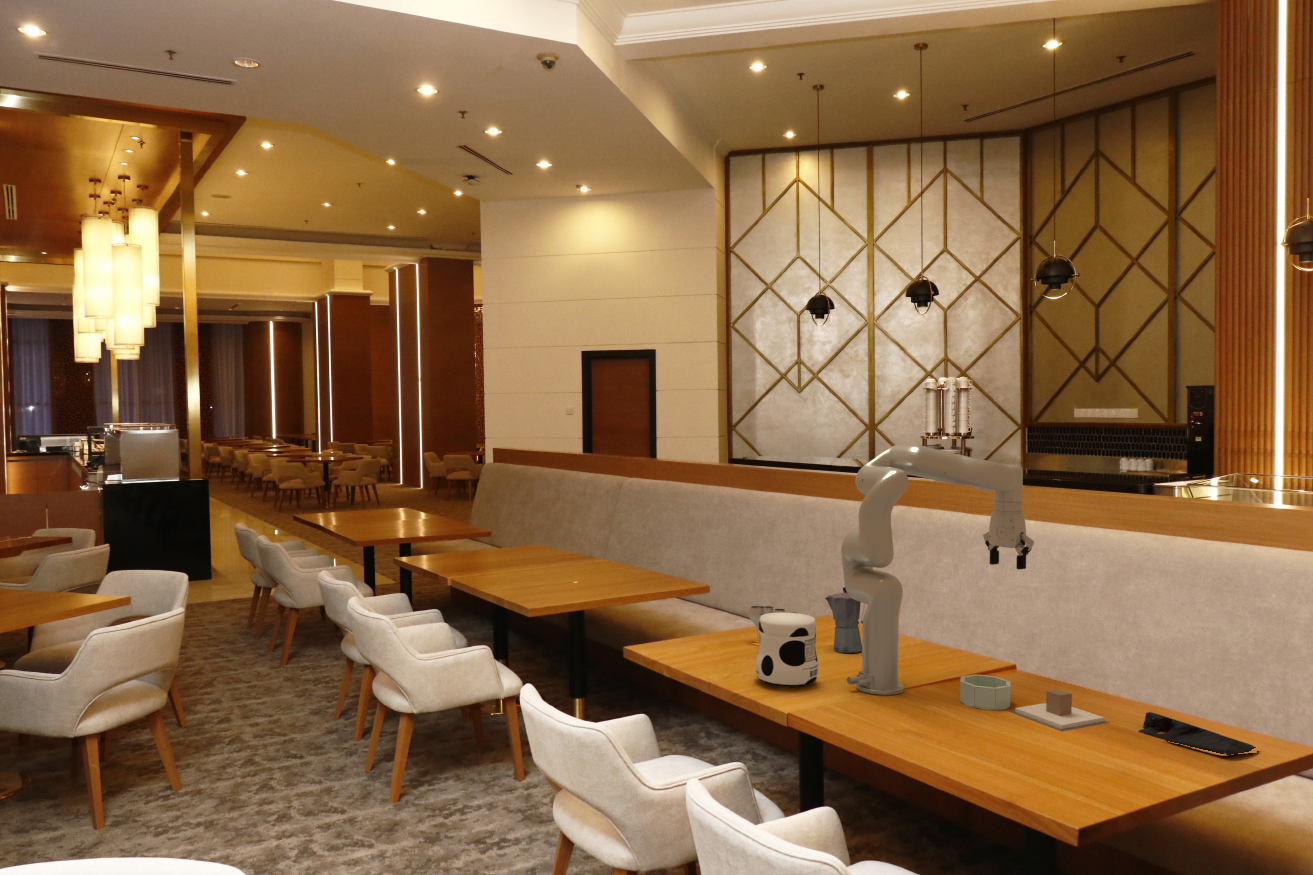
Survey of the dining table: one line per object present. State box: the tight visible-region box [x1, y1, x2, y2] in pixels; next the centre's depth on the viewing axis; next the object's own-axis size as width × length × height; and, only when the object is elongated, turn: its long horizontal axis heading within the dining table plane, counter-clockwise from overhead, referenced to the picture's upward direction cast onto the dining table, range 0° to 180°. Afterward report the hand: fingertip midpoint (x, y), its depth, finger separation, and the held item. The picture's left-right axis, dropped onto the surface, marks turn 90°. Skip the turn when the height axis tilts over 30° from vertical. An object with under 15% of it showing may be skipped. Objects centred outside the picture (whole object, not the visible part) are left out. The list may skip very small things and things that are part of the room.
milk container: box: [755, 611, 820, 688], centre depth 254 cm, size 17×17×18 cm
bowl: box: [959, 674, 1012, 711], centre depth 235 cm, size 12×12×6 cm
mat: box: [1008, 709, 1111, 732], centre depth 224 cm, size 16×16×1 cm
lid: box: [1014, 688, 1105, 729], centre depth 224 cm, size 14×14×6 cm
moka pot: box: [824, 587, 863, 654], centre depth 290 cm, size 10×15×20 cm, turn 82°
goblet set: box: [748, 605, 797, 642], centre depth 289 cm, size 28×6×13 cm, turn 30°
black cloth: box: [1137, 711, 1257, 756], centre depth 209 cm, size 15×22×5 cm
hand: (1007, 566), depth 266 cm, fingers open, 9 cm apart
